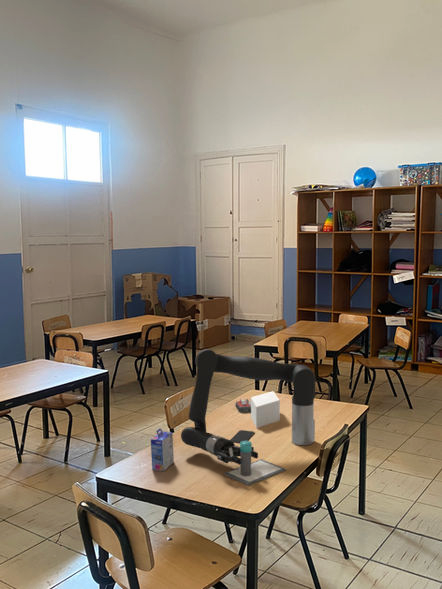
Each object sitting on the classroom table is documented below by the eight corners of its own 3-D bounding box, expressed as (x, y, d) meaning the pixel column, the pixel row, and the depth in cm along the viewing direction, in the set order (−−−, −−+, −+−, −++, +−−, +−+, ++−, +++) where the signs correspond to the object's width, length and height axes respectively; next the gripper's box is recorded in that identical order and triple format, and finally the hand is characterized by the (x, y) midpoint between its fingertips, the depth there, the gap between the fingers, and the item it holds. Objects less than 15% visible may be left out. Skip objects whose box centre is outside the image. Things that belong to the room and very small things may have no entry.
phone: (228, 441, 251) (240, 429, 265) (228, 442, 251) (240, 431, 265) (244, 443, 249) (255, 431, 263) (244, 445, 249) (255, 433, 263)
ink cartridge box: (161, 460, 231) (161, 425, 230) (174, 461, 230) (173, 426, 228) (150, 469, 222) (150, 433, 221) (163, 471, 220) (163, 434, 219)
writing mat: (261, 460, 230) (261, 458, 230) (285, 470, 221) (285, 468, 220) (224, 474, 217) (224, 472, 217) (248, 485, 207) (248, 483, 207)
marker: (245, 470, 218) (245, 440, 217) (253, 474, 215) (253, 442, 214) (237, 473, 216) (237, 442, 214) (245, 477, 213) (245, 445, 211)
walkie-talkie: (256, 413, 293) (248, 402, 312) (256, 404, 292) (248, 394, 312) (239, 414, 291) (232, 402, 311) (239, 405, 291) (232, 394, 310)
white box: (287, 412, 293) (287, 392, 292) (271, 430, 266) (271, 408, 265) (259, 409, 298) (259, 389, 297) (241, 426, 272) (241, 405, 270)
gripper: (206, 442, 220) (235, 453, 208) (233, 433, 230) (262, 444, 218) (206, 461, 221) (235, 473, 209) (233, 451, 230) (262, 463, 218)
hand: (249, 458), depth 213 cm, fingers open, 8 cm apart
